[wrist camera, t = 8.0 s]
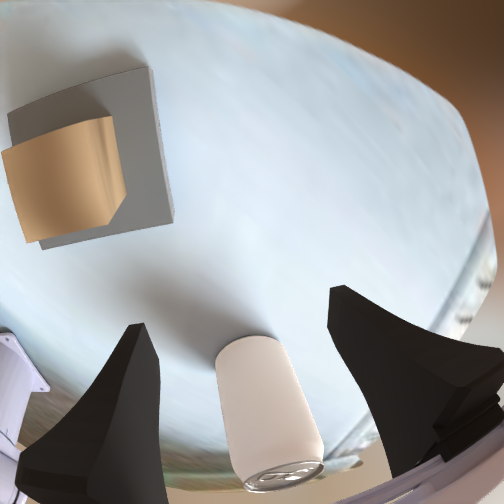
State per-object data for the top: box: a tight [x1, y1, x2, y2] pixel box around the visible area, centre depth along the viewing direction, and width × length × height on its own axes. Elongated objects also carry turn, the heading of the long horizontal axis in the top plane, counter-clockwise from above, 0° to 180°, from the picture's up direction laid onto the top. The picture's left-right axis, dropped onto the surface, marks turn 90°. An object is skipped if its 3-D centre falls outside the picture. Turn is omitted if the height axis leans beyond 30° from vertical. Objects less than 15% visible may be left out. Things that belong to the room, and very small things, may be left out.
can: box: [215, 335, 325, 493], centre depth 21 cm, size 6×6×12 cm
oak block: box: [1, 116, 127, 243], centre depth 13 cm, size 4×4×4 cm
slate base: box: [7, 67, 175, 250], centre depth 15 cm, size 9×9×2 cm
